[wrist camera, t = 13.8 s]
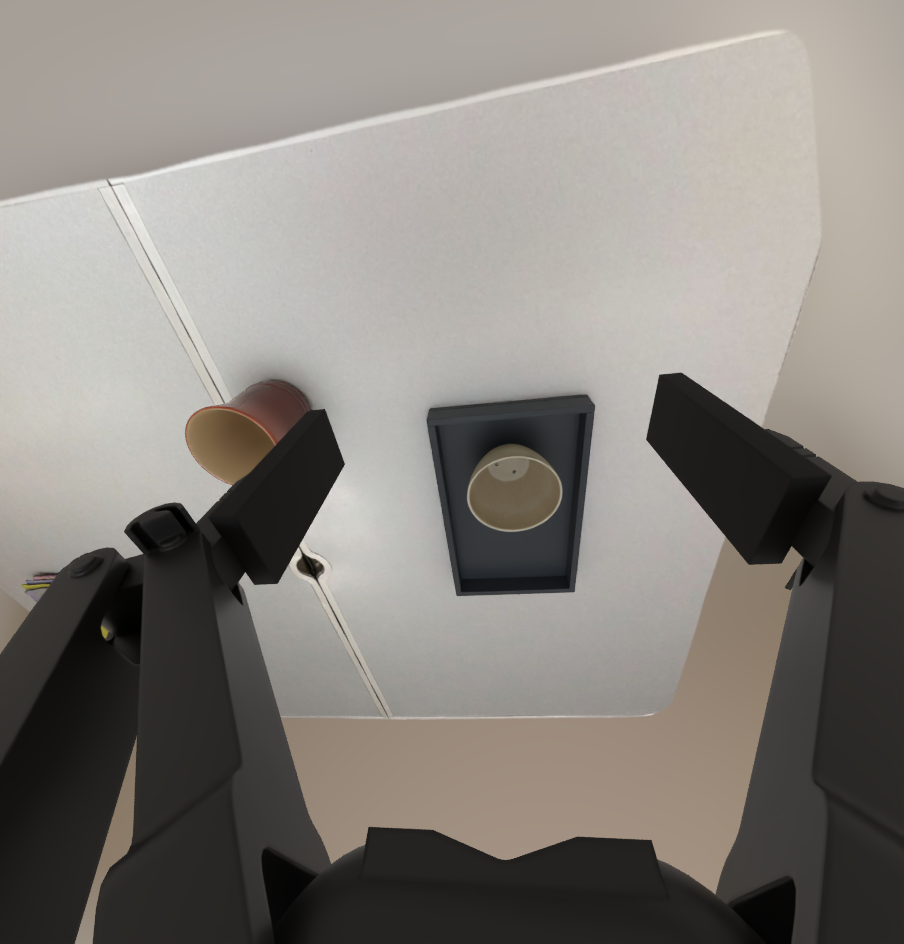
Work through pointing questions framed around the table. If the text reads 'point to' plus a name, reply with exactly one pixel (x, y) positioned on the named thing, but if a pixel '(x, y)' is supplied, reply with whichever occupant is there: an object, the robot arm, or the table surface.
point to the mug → (243, 428)
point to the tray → (531, 425)
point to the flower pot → (513, 489)
